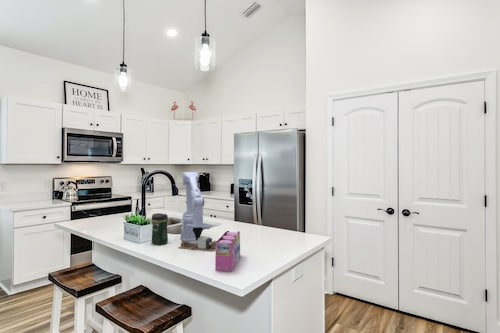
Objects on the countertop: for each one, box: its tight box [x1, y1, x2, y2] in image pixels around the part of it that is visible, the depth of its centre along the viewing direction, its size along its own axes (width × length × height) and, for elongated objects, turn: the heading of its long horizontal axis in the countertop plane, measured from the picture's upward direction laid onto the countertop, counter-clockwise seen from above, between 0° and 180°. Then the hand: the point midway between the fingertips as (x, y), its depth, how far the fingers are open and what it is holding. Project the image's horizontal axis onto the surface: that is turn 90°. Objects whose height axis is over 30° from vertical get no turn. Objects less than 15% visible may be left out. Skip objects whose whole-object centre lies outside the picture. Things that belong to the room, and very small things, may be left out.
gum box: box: [214, 230, 241, 273], centre depth 146 cm, size 24×8×14 cm, turn 171°
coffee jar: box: [151, 212, 169, 246], centre depth 179 cm, size 10×8×19 cm
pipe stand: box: [177, 240, 218, 252], centre depth 170 cm, size 22×9×4 cm, turn 76°
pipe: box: [181, 240, 213, 246], centre depth 170 cm, size 21×2×2 cm, turn 76°
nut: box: [206, 237, 213, 249], centre depth 169 cm, size 2×5×5 cm, turn 166°
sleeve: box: [198, 235, 210, 249], centre depth 169 cm, size 5×5×6 cm
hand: (197, 240), depth 170 cm, fingers closed
